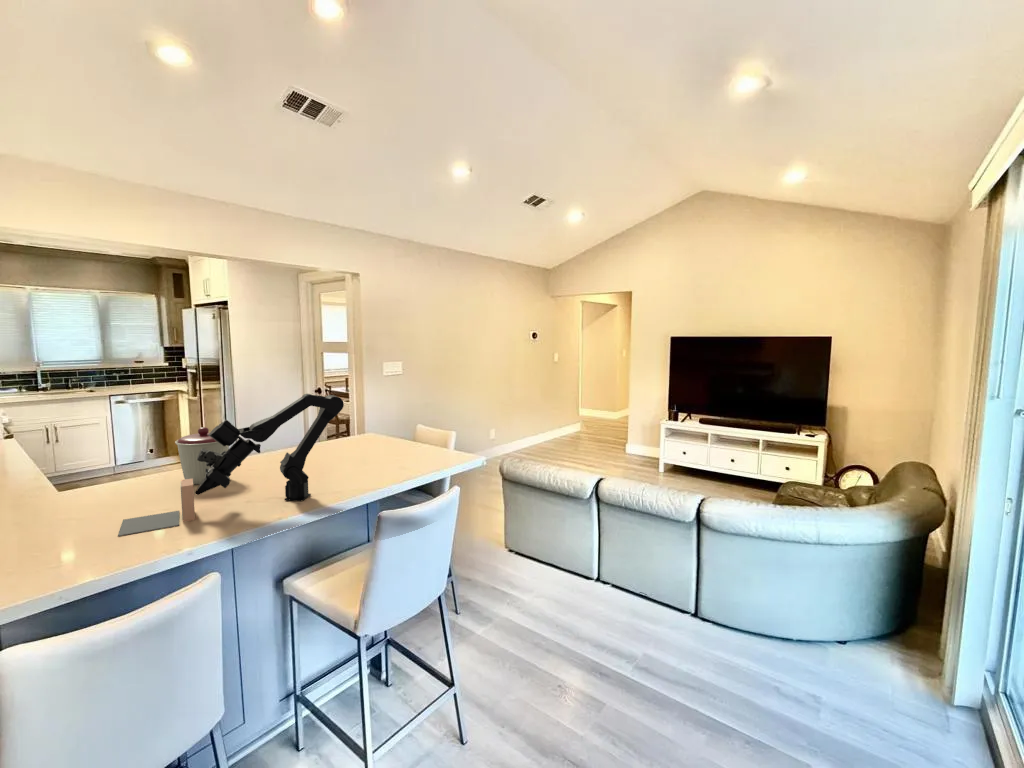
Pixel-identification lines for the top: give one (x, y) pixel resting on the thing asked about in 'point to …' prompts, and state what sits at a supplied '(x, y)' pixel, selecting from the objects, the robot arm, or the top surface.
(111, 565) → the top surface
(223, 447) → the canister
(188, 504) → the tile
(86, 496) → the top surface
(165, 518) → the mat
